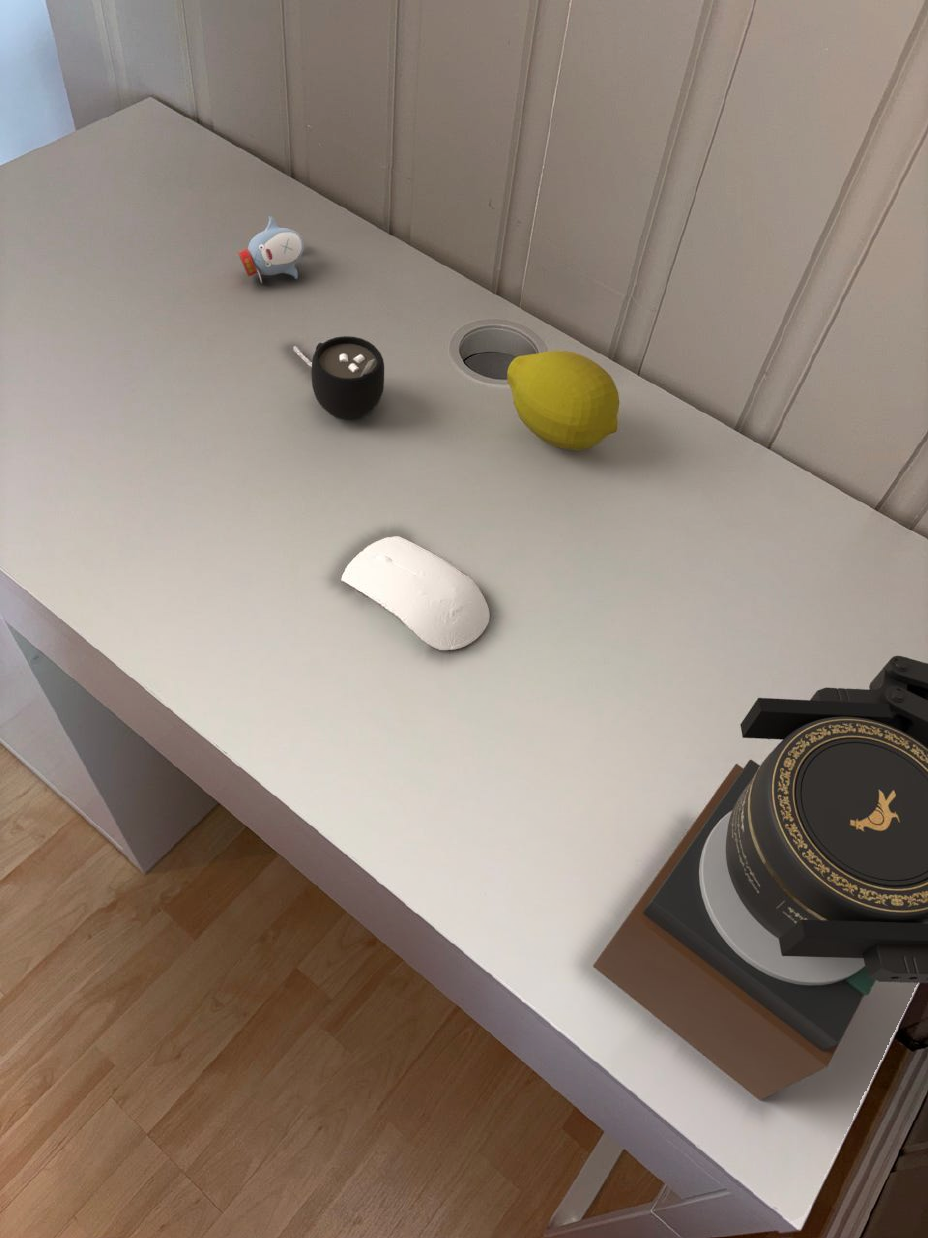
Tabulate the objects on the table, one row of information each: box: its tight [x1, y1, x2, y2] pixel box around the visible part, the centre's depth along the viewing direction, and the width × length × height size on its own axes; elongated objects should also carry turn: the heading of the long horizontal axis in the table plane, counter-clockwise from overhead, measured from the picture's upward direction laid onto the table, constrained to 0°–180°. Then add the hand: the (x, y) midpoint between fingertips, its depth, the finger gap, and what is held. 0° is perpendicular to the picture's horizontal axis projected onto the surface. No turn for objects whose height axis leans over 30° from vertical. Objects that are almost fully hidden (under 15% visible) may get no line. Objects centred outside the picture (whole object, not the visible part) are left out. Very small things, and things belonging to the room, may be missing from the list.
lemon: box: [506, 350, 620, 451], centre depth 84 cm, size 11×8×8 cm
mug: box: [292, 335, 385, 420], centre depth 85 cm, size 12×6×7 cm, turn 40°
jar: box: [726, 717, 928, 939], centre depth 47 cm, size 10×10×8 cm
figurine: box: [237, 215, 305, 284], centre depth 96 cm, size 5×8×4 cm
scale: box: [592, 759, 877, 1101], centre depth 57 cm, size 12×12×13 cm
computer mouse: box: [340, 535, 490, 651], centre depth 75 cm, size 7×12×2 cm, turn 49°
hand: (769, 820), depth 45 cm, fingers closed on jar, 10 cm apart
